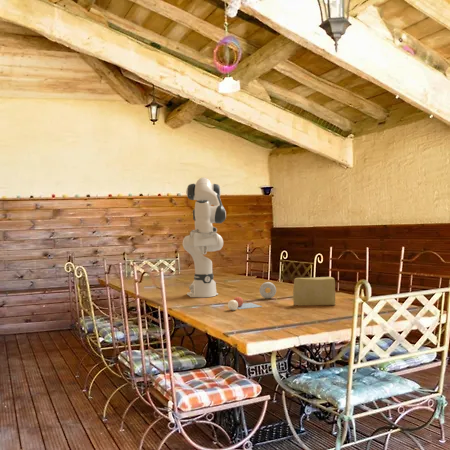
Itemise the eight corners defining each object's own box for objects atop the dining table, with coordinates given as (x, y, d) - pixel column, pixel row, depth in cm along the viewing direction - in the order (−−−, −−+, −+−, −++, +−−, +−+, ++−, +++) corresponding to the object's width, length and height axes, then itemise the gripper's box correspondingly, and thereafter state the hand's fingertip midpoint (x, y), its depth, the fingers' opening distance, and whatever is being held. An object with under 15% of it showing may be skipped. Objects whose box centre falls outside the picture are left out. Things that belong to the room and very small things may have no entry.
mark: (228, 305, 285) (228, 305, 285) (250, 303, 291) (250, 302, 291) (239, 309, 272) (239, 308, 272) (262, 306, 278) (262, 306, 278)
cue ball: (240, 308, 270) (235, 301, 274) (239, 303, 266) (234, 296, 270) (231, 314, 269) (226, 307, 273) (230, 308, 265) (225, 301, 269)
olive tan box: (295, 307, 275) (294, 279, 275) (292, 304, 285) (291, 277, 284) (336, 305, 275) (335, 277, 275) (331, 302, 285) (331, 275, 285)
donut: (259, 299, 304) (259, 282, 304) (259, 298, 307) (259, 281, 307) (276, 298, 304) (276, 282, 304) (276, 297, 307) (275, 281, 307)
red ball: (231, 296, 281) (240, 295, 283) (231, 306, 281) (240, 305, 283) (235, 298, 276) (244, 297, 278) (235, 308, 276) (244, 307, 278)
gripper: (194, 229, 272) (195, 255, 272) (219, 228, 288) (219, 253, 288) (185, 229, 276) (186, 255, 276) (210, 228, 292) (211, 252, 292)
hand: (203, 254), depth 282 cm, fingers closed
